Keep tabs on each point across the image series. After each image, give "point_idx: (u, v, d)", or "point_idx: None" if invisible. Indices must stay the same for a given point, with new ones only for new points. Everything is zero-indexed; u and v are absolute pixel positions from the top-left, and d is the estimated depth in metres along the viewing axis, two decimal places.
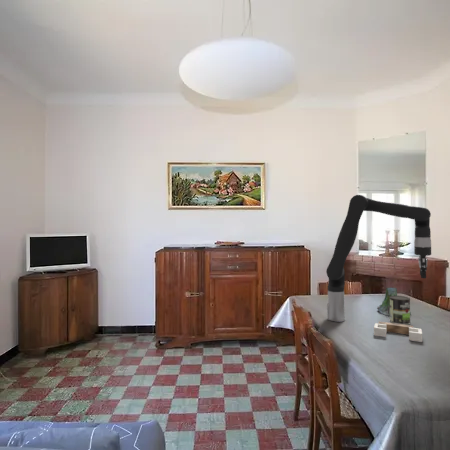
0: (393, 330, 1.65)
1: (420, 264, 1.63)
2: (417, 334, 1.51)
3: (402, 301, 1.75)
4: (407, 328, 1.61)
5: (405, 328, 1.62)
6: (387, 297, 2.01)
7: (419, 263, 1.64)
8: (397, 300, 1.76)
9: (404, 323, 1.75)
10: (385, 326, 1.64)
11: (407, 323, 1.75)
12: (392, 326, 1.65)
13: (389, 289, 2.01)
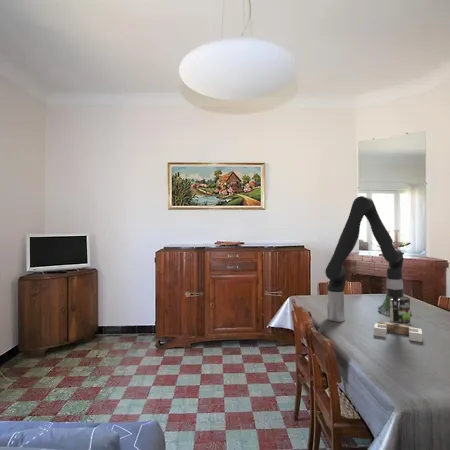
0: (393, 330, 1.65)
1: (392, 306, 1.63)
2: (417, 334, 1.51)
3: (402, 301, 1.75)
4: (406, 328, 1.61)
5: (404, 328, 1.61)
6: (388, 297, 2.01)
7: None
8: None
9: (404, 323, 1.75)
10: (385, 326, 1.64)
11: (407, 323, 1.75)
12: (392, 326, 1.65)
13: None
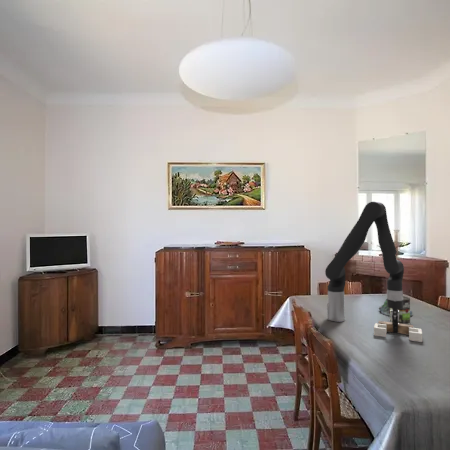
0: None
1: None
2: (417, 334, 1.51)
3: None
4: (407, 327, 1.61)
5: (405, 327, 1.62)
6: None
7: (391, 317, 1.64)
8: None
9: (404, 323, 1.75)
10: (385, 326, 1.64)
11: (407, 323, 1.75)
12: (392, 325, 1.65)
13: None
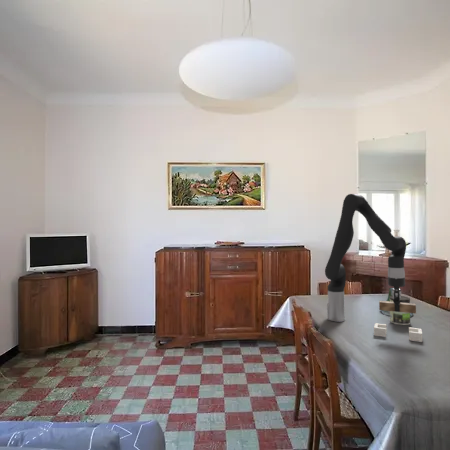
0: None
1: (393, 297, 1.57)
2: (417, 334, 1.51)
3: (402, 301, 1.75)
4: (409, 306, 1.55)
5: (407, 306, 1.55)
6: None
7: None
8: None
9: (404, 323, 1.75)
10: (385, 326, 1.64)
11: (407, 323, 1.75)
12: (394, 304, 1.58)
13: None
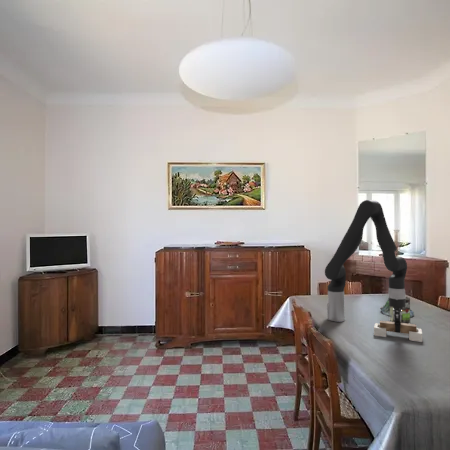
0: None
1: None
2: (417, 334, 1.51)
3: None
4: (410, 327, 1.55)
5: (408, 327, 1.55)
6: None
7: (393, 316, 1.58)
8: None
9: None
10: None
11: (407, 323, 1.75)
12: (394, 325, 1.58)
13: None
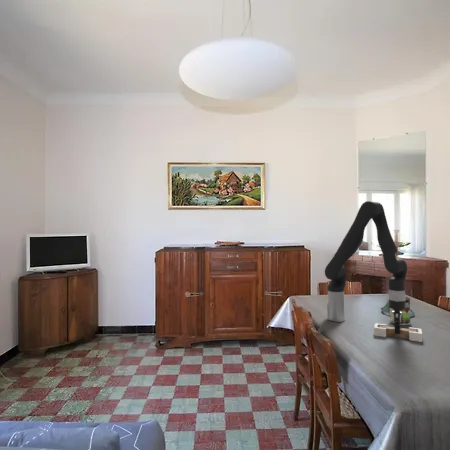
0: (395, 335, 1.58)
1: (394, 318, 1.56)
2: (417, 334, 1.51)
3: None
4: None
5: (408, 332, 1.55)
6: None
7: (393, 317, 1.57)
8: None
9: (404, 323, 1.75)
10: None
11: (407, 323, 1.75)
12: (394, 330, 1.58)
13: None
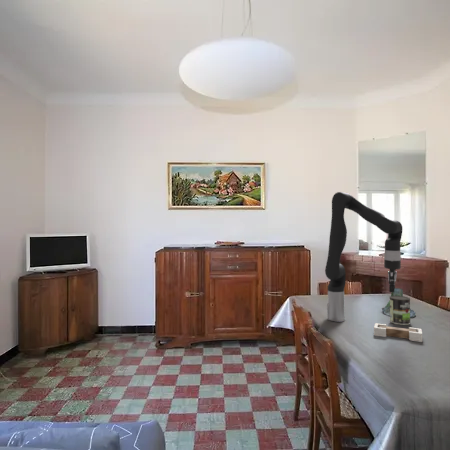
0: (395, 335, 1.58)
1: (389, 278, 1.61)
2: (417, 334, 1.51)
3: (402, 301, 1.75)
4: None
5: (408, 332, 1.55)
6: None
7: (388, 277, 1.62)
8: (397, 300, 1.76)
9: (404, 323, 1.75)
10: None
11: (407, 323, 1.75)
12: (394, 330, 1.58)
13: (394, 290, 1.99)
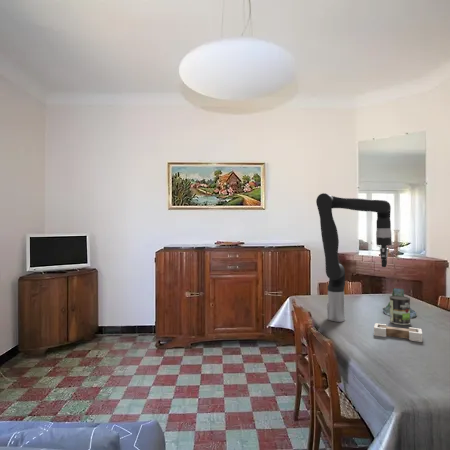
0: (395, 335, 1.58)
1: (381, 254, 1.72)
2: (417, 334, 1.51)
3: (402, 301, 1.75)
4: None
5: (408, 332, 1.55)
6: None
7: (380, 253, 1.73)
8: (397, 300, 1.76)
9: (404, 323, 1.75)
10: None
11: (407, 323, 1.75)
12: (394, 330, 1.58)
13: (395, 290, 1.99)
